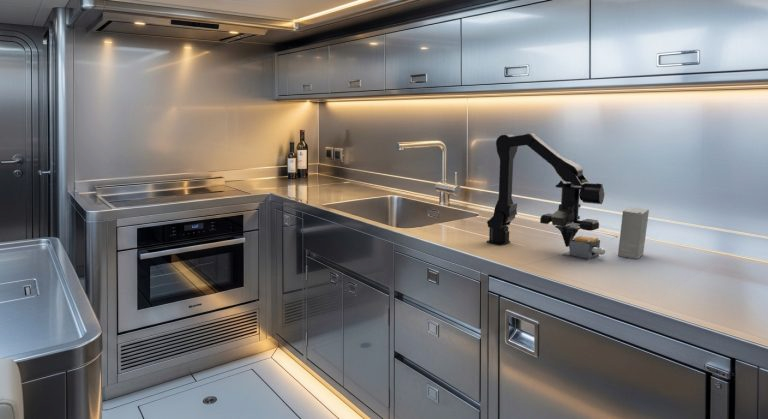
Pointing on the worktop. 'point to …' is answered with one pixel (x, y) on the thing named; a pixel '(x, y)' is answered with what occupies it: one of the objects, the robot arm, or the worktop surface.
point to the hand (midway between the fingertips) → (567, 246)
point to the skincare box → (633, 232)
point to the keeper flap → (586, 239)
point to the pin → (596, 250)
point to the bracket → (582, 249)
